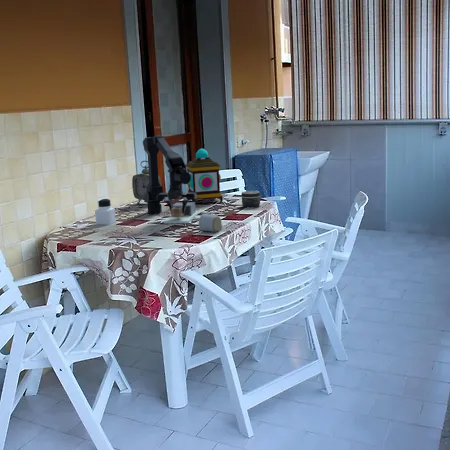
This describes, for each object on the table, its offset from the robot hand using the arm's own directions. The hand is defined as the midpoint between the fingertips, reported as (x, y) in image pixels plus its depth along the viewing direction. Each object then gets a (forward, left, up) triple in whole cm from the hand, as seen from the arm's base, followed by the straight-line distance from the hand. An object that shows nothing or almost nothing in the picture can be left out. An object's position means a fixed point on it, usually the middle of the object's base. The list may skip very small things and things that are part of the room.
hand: (177, 213), depth 293 cm
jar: (+31, +36, -4) cm, 48 cm away
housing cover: (0, +12, -3) cm, 13 cm away
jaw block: (0, 0, -1) cm, 1 cm away
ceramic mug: (+21, -21, -4) cm, 29 cm away
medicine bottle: (-36, -3, -4) cm, 36 cm away
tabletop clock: (-29, +46, -4) cm, 54 cm away
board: (0, +6, -4) cm, 7 cm away
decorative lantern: (+2, +53, -4) cm, 53 cm away
